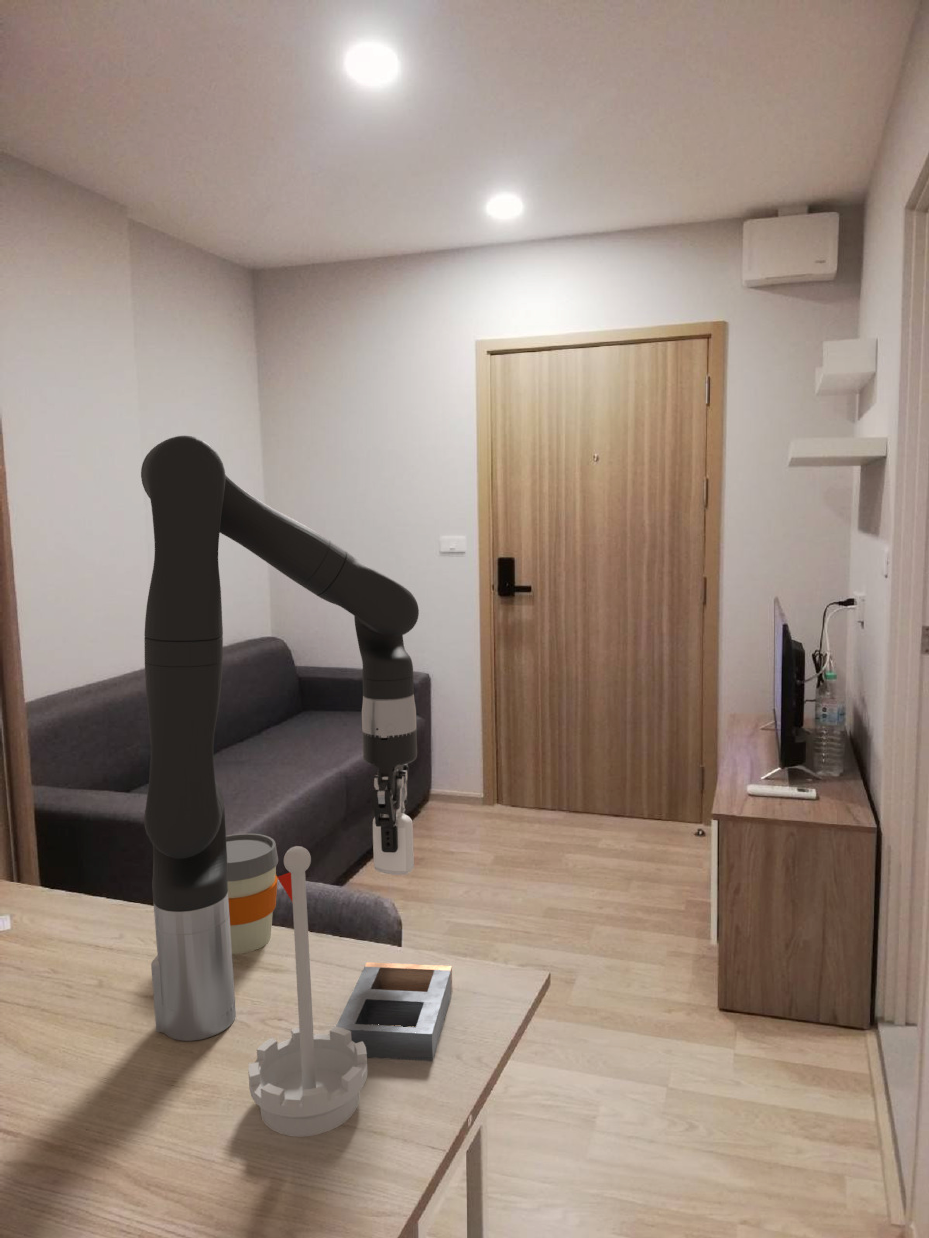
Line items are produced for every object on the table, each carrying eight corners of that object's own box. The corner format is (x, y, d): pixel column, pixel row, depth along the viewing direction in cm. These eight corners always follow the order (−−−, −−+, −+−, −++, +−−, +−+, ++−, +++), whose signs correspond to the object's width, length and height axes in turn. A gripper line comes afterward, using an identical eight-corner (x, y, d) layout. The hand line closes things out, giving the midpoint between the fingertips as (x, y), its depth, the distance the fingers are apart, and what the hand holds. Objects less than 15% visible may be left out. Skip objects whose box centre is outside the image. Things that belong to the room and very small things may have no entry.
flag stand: (391, 1106, 99) (380, 848, 96) (285, 1161, 91) (269, 882, 88) (331, 1052, 110) (319, 817, 106) (231, 1098, 101) (215, 845, 98)
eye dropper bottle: (392, 880, 123) (390, 796, 121) (370, 868, 127) (367, 786, 126) (418, 871, 126) (416, 789, 124) (395, 860, 130) (392, 780, 128)
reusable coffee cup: (185, 940, 139) (179, 848, 138) (256, 913, 148) (251, 827, 146) (224, 969, 130) (217, 870, 128) (297, 939, 139) (293, 846, 137)
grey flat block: (336, 1055, 109) (334, 1028, 108) (367, 985, 125) (366, 962, 124) (432, 1061, 107) (431, 1033, 107) (452, 989, 123) (451, 965, 122)
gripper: (374, 714, 131) (377, 827, 133) (350, 739, 117) (354, 864, 119) (424, 715, 130) (427, 828, 132) (406, 740, 116) (410, 866, 118)
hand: (392, 845), depth 126 cm, fingers closed on eye dropper bottle, 3 cm apart
